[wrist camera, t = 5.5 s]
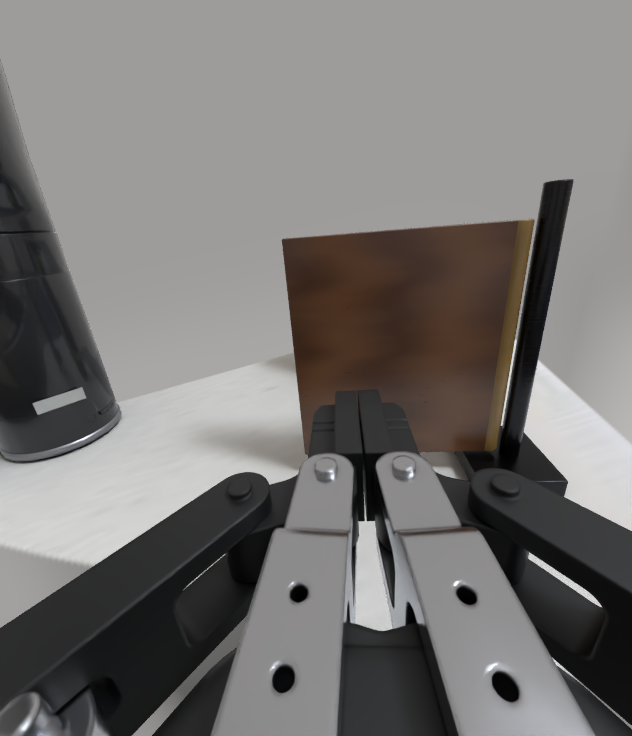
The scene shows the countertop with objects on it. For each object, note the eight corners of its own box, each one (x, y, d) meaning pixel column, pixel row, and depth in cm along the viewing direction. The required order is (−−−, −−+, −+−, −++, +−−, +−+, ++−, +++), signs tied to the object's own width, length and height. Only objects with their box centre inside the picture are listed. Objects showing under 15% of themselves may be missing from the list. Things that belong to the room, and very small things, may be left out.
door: (305, 456, 23) (281, 239, 17) (306, 445, 24) (284, 238, 18) (499, 451, 22) (539, 218, 16) (492, 440, 23) (526, 218, 17)
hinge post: (478, 498, 20) (526, 178, 14) (448, 440, 26) (471, 192, 19) (564, 497, 20) (657, 166, 13) (515, 438, 25) (563, 184, 19)
